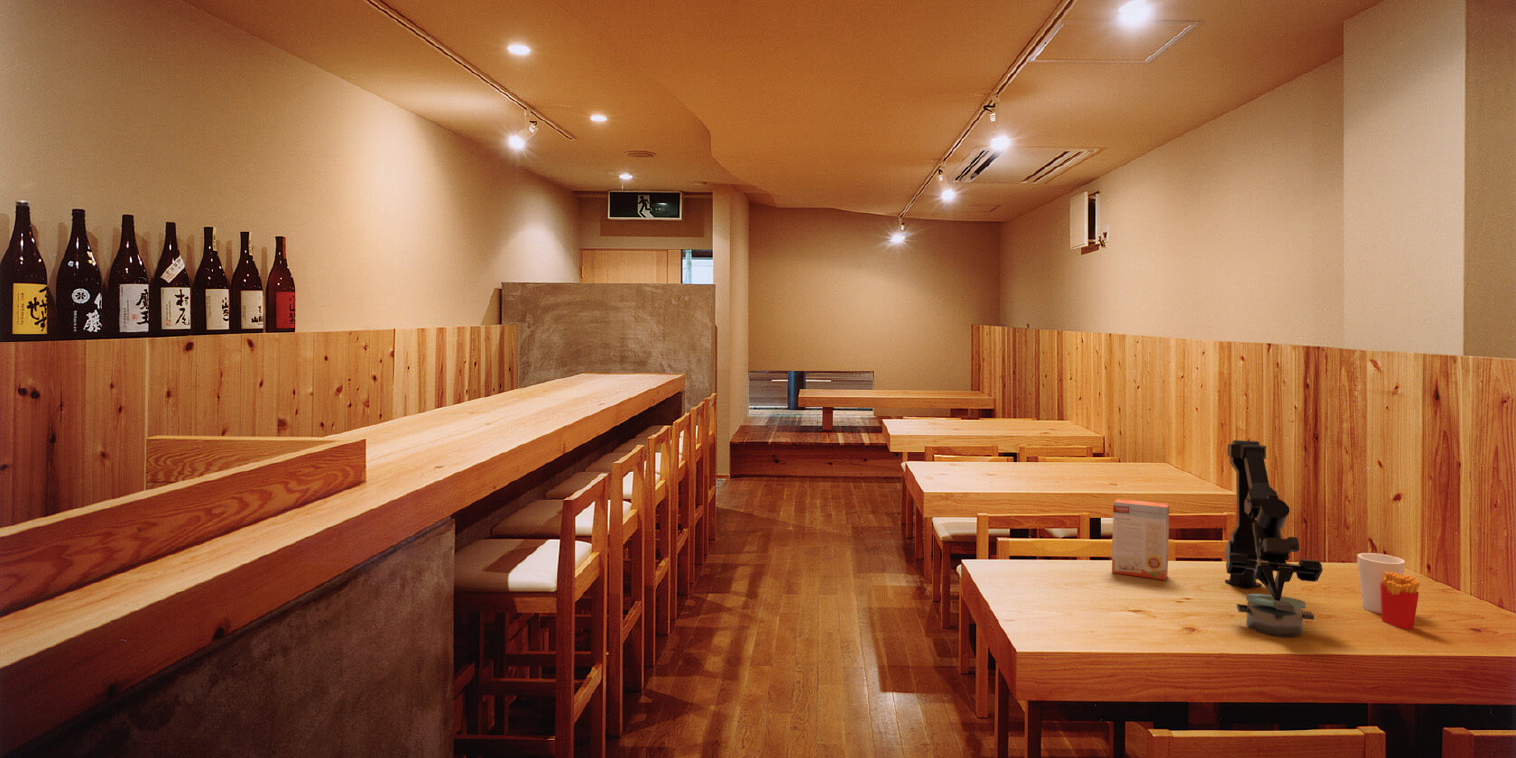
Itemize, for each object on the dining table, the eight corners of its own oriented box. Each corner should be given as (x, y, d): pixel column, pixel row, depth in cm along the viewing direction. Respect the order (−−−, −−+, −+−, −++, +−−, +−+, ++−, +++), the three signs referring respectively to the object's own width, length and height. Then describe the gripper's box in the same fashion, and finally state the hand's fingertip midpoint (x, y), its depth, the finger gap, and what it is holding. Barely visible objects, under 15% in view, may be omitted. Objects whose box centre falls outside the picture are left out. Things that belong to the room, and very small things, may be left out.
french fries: (1374, 618, 196) (1377, 569, 195) (1389, 617, 197) (1391, 569, 196) (1408, 631, 188) (1410, 580, 187) (1422, 630, 188) (1425, 579, 188)
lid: (1241, 596, 196) (1241, 591, 197) (1297, 601, 192) (1297, 596, 193) (1255, 607, 182) (1255, 602, 182) (1316, 613, 178) (1316, 608, 178)
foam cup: (1389, 618, 196) (1392, 565, 195) (1347, 606, 204) (1349, 556, 203) (1410, 611, 200) (1412, 560, 200) (1367, 600, 209) (1370, 551, 208)
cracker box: (1167, 575, 230) (1170, 503, 228) (1165, 581, 225) (1167, 507, 223) (1114, 567, 237) (1116, 497, 236) (1111, 573, 232) (1113, 501, 231)
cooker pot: (1232, 615, 198) (1232, 595, 198) (1303, 623, 193) (1304, 602, 193) (1242, 632, 187) (1242, 611, 187) (1318, 641, 182) (1319, 619, 182)
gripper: (1230, 519, 194) (1237, 578, 184) (1322, 526, 187) (1334, 587, 178) (1222, 543, 202) (1229, 601, 192) (1310, 551, 195) (1322, 610, 186)
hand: (1278, 599), depth 187 cm, fingers closed, pressing on lid
